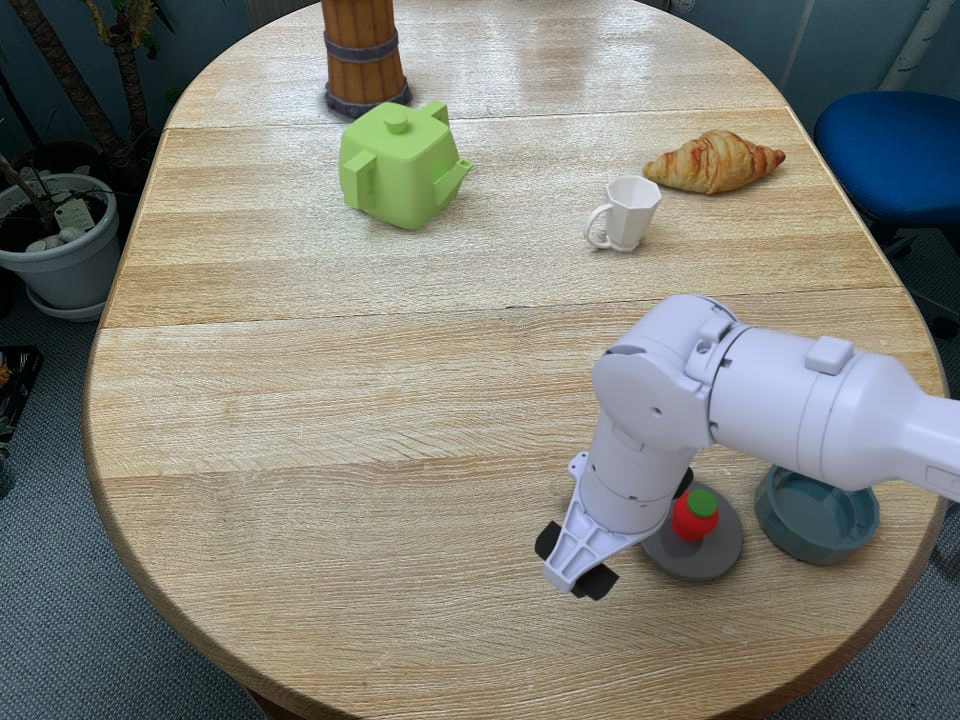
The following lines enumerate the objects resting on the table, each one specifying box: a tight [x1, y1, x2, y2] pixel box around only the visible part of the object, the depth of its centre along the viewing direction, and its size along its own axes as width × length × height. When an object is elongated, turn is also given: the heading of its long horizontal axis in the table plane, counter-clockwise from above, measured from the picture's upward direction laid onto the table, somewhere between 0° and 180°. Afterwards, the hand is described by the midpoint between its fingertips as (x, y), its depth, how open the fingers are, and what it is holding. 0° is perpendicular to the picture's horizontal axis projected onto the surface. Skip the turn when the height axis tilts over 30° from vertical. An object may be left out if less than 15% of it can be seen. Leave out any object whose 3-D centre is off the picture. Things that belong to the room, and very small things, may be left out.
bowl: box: [753, 464, 881, 565], centre depth 64 cm, size 10×10×4 cm
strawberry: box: [671, 489, 719, 541], centre depth 61 cm, size 4×4×5 cm
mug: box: [320, 0, 414, 123], centre depth 103 cm, size 19×14×20 cm
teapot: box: [337, 98, 474, 230], centre depth 88 cm, size 18×20×13 cm
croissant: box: [641, 128, 787, 195], centre depth 96 cm, size 21×10×8 cm, turn 100°
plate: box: [637, 479, 743, 583], centre depth 64 cm, size 10×10×1 cm
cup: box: [582, 174, 663, 252], centre depth 86 cm, size 7×10×8 cm
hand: (601, 549), depth 51 cm, fingers open, 7 cm apart
